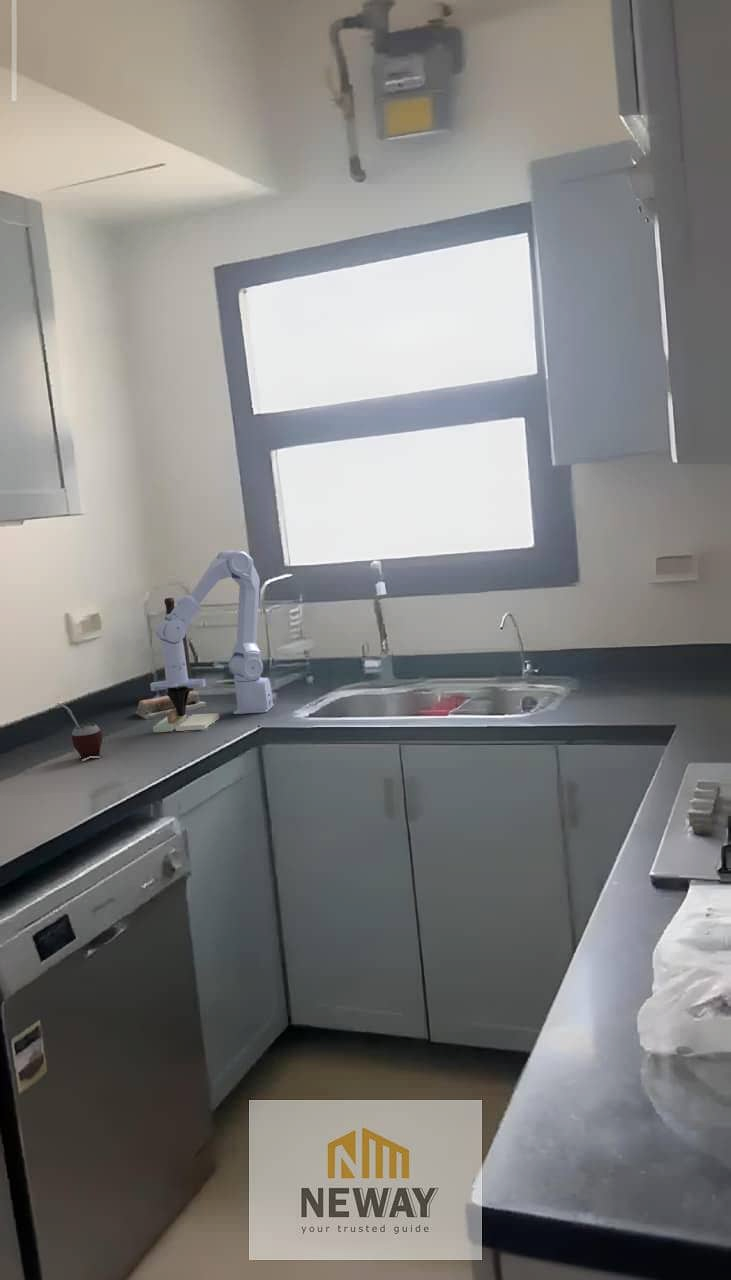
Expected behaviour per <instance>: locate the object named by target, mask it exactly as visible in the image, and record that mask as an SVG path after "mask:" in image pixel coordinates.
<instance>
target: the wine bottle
mask: <svg viewBox="0 0 731 1280" xmlns="http://www.w3.org/2000/svg"><path fill="white" fill-rule="evenodd" d="M175 602H176V601H175V599H174V597H166V598H164V605H165V610H166V611H165V614H166V615H165V618H164V620H167V618H166V616H167V614H170V613H171V612H172V610H173V609H174V608H175V607H176V606H175ZM187 639H188V638H187V634H185V637H184V638H183V645H184V651H185V659H186V666H187V674H188V679H193V677H192V671H191V670H192V669H191V660H190V653H189V647H188V640H187ZM190 691H194V688H191V689H190Z"/></svg>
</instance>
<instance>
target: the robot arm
mask: <svg viewBox="0 0 731 1280" xmlns="http://www.w3.org/2000/svg"><path fill="white" fill-rule="evenodd" d="M227 578H232V580H233V581H235V583H237V585H238V586H239V591H238V592H239V594H238V611H237V629H236V643H235V645H234V646H233V647H232V654H231V656H230V658H229V660H228V669H229V671H230V672H231V674H232V675H233V679H234V680H233V683H234V688H235V689H234V691H235V696H236V697H235V698H236V705H237V709H236V710H235V711H233V714H234V715H242V714H243V715H244V714H260V713H261V714H262V713H267V712H268V711H270V709H272V707H274V705H275V704H274V699H273V692H272V685H271V680H270V679H269V677H261V675H262V673H263V672H264V664H263V661H262V659H261V658H262V657H261V656H262V655H261V651H260V648H259V647H258V644H257V641H258V640H257V637H258V621H259V620H258V618H259V603H260V602H259V600H260V576H259V575H258V571H257V570H256V567H255V565H254V559H253V558H252V557H251V556H250V555H249V554H248V553H247V552H246V551H243V550H230V549H224V550H222V551H220V552H218V554H217V555H216V557H215V558H213V559H212V561H211V563H210V564H209V567H208V568H207V570H206V571H205V572H204V574H203V575H202V577H201V578H200V579H199V581H198V583H197V584H196V586H195V587H194V589H193V590H192V592H191V593H190V594H189V595H185V596H182V597H181V598H178V599H177V600H176V603H177V604H176V605H175V606H174V607H175V608H174V609H173V610H172V612H171V613H170V614H167V616H166V615H165V618H167V620H165V619H164V620H162V621H160V623H159V624H158V625H157V630H156V631H155V634H156V636H157V638H158V640H160V642H161V643H160V644H161V652H162V658H163V659H162V660H163V665H164V666H163V667H164V674H165V675H164V676H165V680H161V681H156V682H155V681H154V682H151V683H150V691H151V692H154V691H155V692H156V691H163V690H167V692H166V696H167V695H168V697H169V698H170V699H171V701H172V702H173V704H174V706H175V708H176V710H177V713H178V716H184V715H185V714H186V712H187V711H186V703H187V698H188V695H189V692H190V689H191V688H193V689H194V688H200V689H201V688H202V689H203V688H204V687H206V679H205V678H192V679H188V674H187V666H186V659H185V651H184V645H183V638H184V637H185V634H186V633H187V628H188V627H189V625H190V624H191V623H192V622H193V620H194V619H195V618H196V617H197V616H198V614H199V613H200V611H201V610H202V609H201V608H202V607H201V602H202V601H203V600H204V599H205V598H206V596H207V595H208V594H209V593H210V592H211V591H212V589H213V588H214V587H215V586H216V585H217V584H218V582H219V581H221V580H225V579H227ZM186 635H187V634H186Z"/></svg>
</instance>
